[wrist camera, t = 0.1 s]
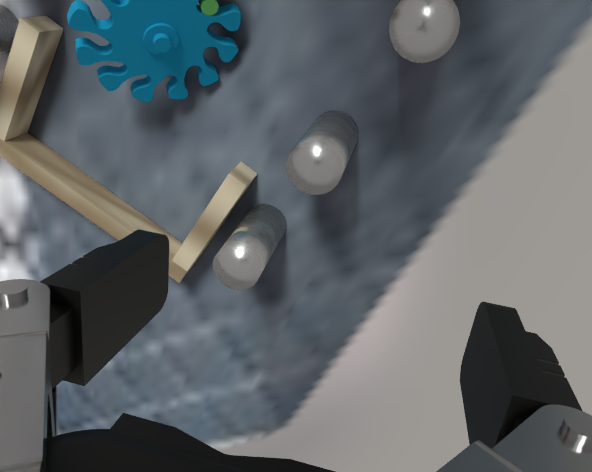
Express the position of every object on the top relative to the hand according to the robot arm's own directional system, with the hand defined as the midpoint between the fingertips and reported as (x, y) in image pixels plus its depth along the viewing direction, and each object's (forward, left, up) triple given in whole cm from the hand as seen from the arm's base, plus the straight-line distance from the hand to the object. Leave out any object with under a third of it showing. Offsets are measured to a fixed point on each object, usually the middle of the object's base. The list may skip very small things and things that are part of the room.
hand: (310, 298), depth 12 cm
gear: (+4, -13, -23) cm, 27 cm away
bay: (+14, -13, -22) cm, 30 cm away
